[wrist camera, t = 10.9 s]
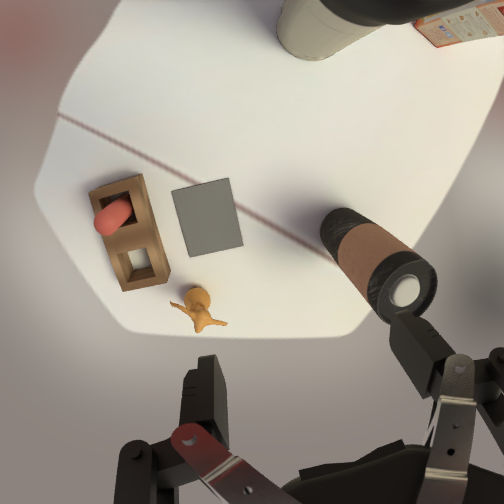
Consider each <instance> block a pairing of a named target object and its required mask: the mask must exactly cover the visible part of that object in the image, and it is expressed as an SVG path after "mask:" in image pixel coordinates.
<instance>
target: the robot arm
mask: <svg viewBox="0 0 504 504" xmlns="http://www.w3.org/2000/svg"><path fill="white" fill-rule="evenodd" d="M472 1H474V0H285V1H284V3H283V5H282V7H281V9H282V14H281V16H280V17H279V19H278V22H277V35H278V38H279V40H280V43H281V44H282V45H283V47H284V48H285V49H286V50H287V51H288V52H289V53H291V54H292V55H294V56H296V57H298V58H301V59H304V60H308V61H318V60H323V59H326V58H328V57H330V56H332V55H334V54H335V53H336V52H338V51H340V50H341V49H343V48H345V47H347V46H348V45H350V44H352V43H353V42H355V41H357V40H359V39H360V38H362V37H364V36H366V35H368V34H369V33H371V32H373V31H375V30H377V29H379V28H380V27H382V26H384V25H386V24H390V25H401V24H405V23H409V22H411V21H414V20H417V19H420V18H423V17H426V16H430V15H433V14H437V13H440V12H444V11H447V10H451V9H454V8H457V7H460V6H463V5H465V4H468V3H470V2H472ZM389 342H390V347H391V350H392V351H393V353H394V355H395V356H396V358H397V359H398V361H399V362H400V364H401V366H402V367H403V369H404V370H405V372H406V373H407V375H408V376H409V378H410V379H411V381H412V383H413V384H414V386H415V387H416V389H417V391H418V392H419V394H420V395H421V397H422V399H425V398H428V397H430V396H432V398H433V402H432V406H431V411H430V416H429V420H428V424H427V428H426V433H425V436H424V439H423V442H422V445H415V444H411V445H404V443H403V441H402V439H401V440H398V441H395V442H393V443H390V444H387V445H385V446H382V447H379V448H377V449H375V450H374V451H372V452H371V453H369V454H367V455H366V456H364V457H362V458H360V459H359V460H357V461H355V462H347V463H333V464H323V465H319V466H315V467H311V468H306V469H302V470H299V474H300V476H299V477H297V478H295V479H293V480H291V481H290V482H288V483H287V484H285V485H284V486H283V487H282V488H279V487H278V486H277V485H275V484H274V483H273V482H271V481H270V480H269V479H268V478H266V477H265V476H264V475H262V474H261V473H260V472H259V471H257V470H256V469H255V468H253V467H252V466H251V465H250V464H249V463H247V462H246V461H245V460H244V459H242V458H241V457H239V456H234V455H232V453H230V452H229V451H228V450H229V434H228V433H229V432H228V410H227V389H226V383H225V379H224V376H223V373H222V370H221V368H220V365H219V362H218V359H217V356H216V355H215V354H214V355H208V356H201V357H199V358H198V368H197V369H192V370H189V371H188V373H187V374H186V376H185V378H184V381H183V390H182V400H181V411H180V421H179V427H177V428H176V429H175V430H174V431H173V433H172V435H171V437H170V438H168V439H166V440H164V441H161V442H158V443H155V444H152V445H149V444H148V443H147V442H145V441H142V440H134V441H131V442H128V443H127V444H125V445H124V446H123V447H122V449H121V451H120V454H119V461H118V468H117V476H116V485H115V494H114V504H179V489H178V486H181V485H184V484H187V483H190V482H193V481H195V480H198V479H199V480H200V481H201V482H202V483H203V484H204V485H205V486H206V487H207V488H208V489H209V490H210V491H211V492H212V493H213V494H214V495H215V496H216V497H217V498H218V499H219V500H220V501H221V502H222V503H223V504H504V471H503V475H500V474H497V473H494V472H492V471H489V470H486V469H483V468H480V467H478V466H475V465H472V464H470V463H469V459H470V453H471V447H472V440H473V433H474V425H475V416H476V408H477V410H478V411H479V413H480V415H481V416H482V418H483V420H484V421H485V423H486V425H487V426H488V428H489V430H490V432H491V433H492V435H493V437H494V439H495V440H496V442H497V444H498V446H499V448H500V449H501V451H502V453H503V455H504V395H503V393H504V348H503V347H499V348H495V349H493V350H492V351H491V352H490V355H489V358H486V359H480V360H472V359H471V358H470V357H469V356H467V355H464V354H456V353H455V352H454V350H453V349H452V348H451V347H450V346H449V344H448V343H447V342H446V341H445V340H444V339H443V338H442V337H441V335H439V333H438V332H437V331H436V330H435V329H434V327H433V326H432V325H431V324H430V323H429V322H428V321H427V320H425V319H423V318H421V317H415V316H414V315H413V314H412V313H411V312H410V311H409V310H408V309H406V310H403V311H400V312H396V313H393V314H392V316H391V327H390V337H389ZM502 391H503V393H502ZM503 469H504V462H503Z"/></svg>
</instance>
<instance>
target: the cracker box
mask: <svg viewBox="0 0 504 504" xmlns="http://www.w3.org/2000/svg"><path fill="white" fill-rule="evenodd" d="M414 27H415V28H416V29H417V30H419V31H420V32H421V33H422V34H423V35H424V36H425V37H426V38H427V39H428V40H430V41H431V42H432V43H433V44H434V45H435V46H436V47H437V48H439V47H443V46H448V45H453V44H457V43H462V42H467V41H472V40H477V39H483V38H488V37H495V36H502V35H504V0H474V1H472V2H470V3H468V4H465V5H463V6H460V7H457V8H454V9H451V10H447V11H444V12H440V13H437V14H433V15H430V16H426V17H423V18H420V19H418V20H417V22H416V24H415V26H414Z"/></svg>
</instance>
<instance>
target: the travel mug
mask: <svg viewBox="0 0 504 504" xmlns="http://www.w3.org/2000/svg"><path fill="white" fill-rule="evenodd" d="M320 235H321V240H322V242H323V244H324V246H325V247H326V248H327V250H328V251H329V253H330V254H331V255H332V257H333V258H334V260H335V261H336V263H337V264H338V265H339V267H340V268H341V269H342V271H343V272H344V273H345V275H346V276H347V277H348V278H349V279H350V281H351V282H352V283H353V284H354V286H355V287H356V288H357V289H358V291H359V292H360V293H361V294H362V296H363V297H364V298H365V299H366V301H367V302H368V303H369V305H370V306H371V307H372V308H373V310H374V311H375V312H376V314H377V315H378V316H379V317H380V319H381V320H383V321H384V322H385V323H387V324H389V325H391V316H392V314H393V313H396V312H400V311H403V310H406V309H408V310H409V311H410V312H411V313H412V314H413V315H414V316H415V317H420V316H421V315H422V314H423V313H424V312H425V311H426V310H427V308H428V307H429V306H430V304H431V303H432V301H433V299H434V297H435V294H436V290H437V283H438V280H437V274H436V271H435V269H434V268H433V267H432V266H431V265H430V264H429V263H428V262H427V261H426V260H425V259H423V258H422V257H421V256H419V255H418V254H417V253H416V252H414V251H413V250H412V249H410V248H409V247H408V246H406V245H405V244H404V243H402V242H401V241H400V240H398V239H397V238H396V237H394V236H393V235H392V234H390V233H389V232H388V231H386V230H385V229H383V228H382V227H381V226H379V225H377V224H376V223H374V222H372V221H371V220H369V219H367V218H366V217H364V216H362V215H361V214H359V213H357V212H356V211H354V210H351V209H348V208H340V209H336V210H334V211H332V212H331V213H330V214H328V215H327V216H326V218H325V219H324V221H323V223H322V225H321V230H320Z"/></svg>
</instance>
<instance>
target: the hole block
mask: <svg viewBox="0 0 504 504" xmlns="http://www.w3.org/2000/svg"><path fill="white" fill-rule="evenodd" d="M127 190H129V194H130V197H131V201H132V204H133V208H134V211H135V214H136V217H134V218H131V219H127V220H126V221H125V222H124V223H123V224H122V225H121V226H120V227H119V228H118V229H117V230H116V231H115V232H114V233H113V234H112V235H109V236H104V235H102V238H103V241H104V244H105V247H106V249H107V252H108V255H109V258H110V260H111V263H112V266H113V268H114V271H115V274H116V276H117V279H118V281H119V284H120V286H121V289H122V291H123V292H125V291H130V290H135V289H140V288H144V287H149V286H154V285H159V284H164V283H167V281H168V278H169V275H170V272H171V269H170V266H169V263H168V260H167V257H166V254H165V251H164V248H163V244H162V241H161V238H160V235H159V231H158V228H157V225H156V221H155V218H154V214H153V211H152V207H151V204H150V200H149V197H148V193H147V189H146V185H145V182H144V178H143V174H140V175H137V176H133V177H130V178H126V179H123V180H120V181H117V182H114V183H110V184H107V185H104V186H101V187H98V188H96V189H95V190H93V191H91V192H89V193H88V194H89V197H90V201H91V204H92V207H93V211H94V214H95V216H96V215H97V214H98V213H99V212H100V211H101V210H103V209H104V208H105V207H107V206H108V205H110V204H111V200H110V196H111V195H114V194H117V193H121V192H124V191H127ZM145 247H146V249H147V252H148V255H149V258H150V261H151V264H152V267H149V268H144V269H140V270H135V271H134V270H133V267H132V264H131V261H130V258H129V256H128V253H127V252H128V251H132V250H136V249H140V248H145Z"/></svg>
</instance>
